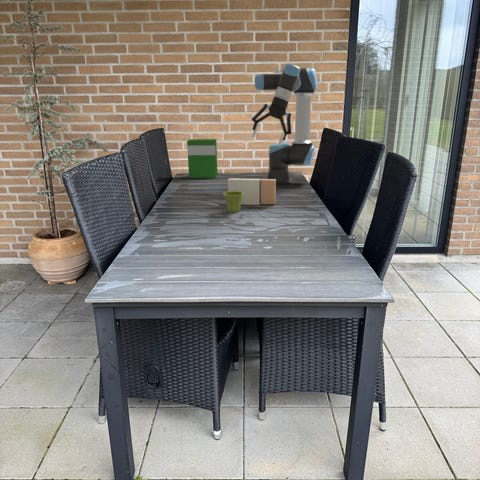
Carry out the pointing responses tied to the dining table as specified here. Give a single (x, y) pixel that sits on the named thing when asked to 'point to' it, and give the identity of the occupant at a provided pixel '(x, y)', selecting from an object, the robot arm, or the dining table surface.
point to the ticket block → (247, 190)
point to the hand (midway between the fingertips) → (265, 142)
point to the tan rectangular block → (268, 191)
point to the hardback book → (202, 158)
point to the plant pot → (233, 200)
